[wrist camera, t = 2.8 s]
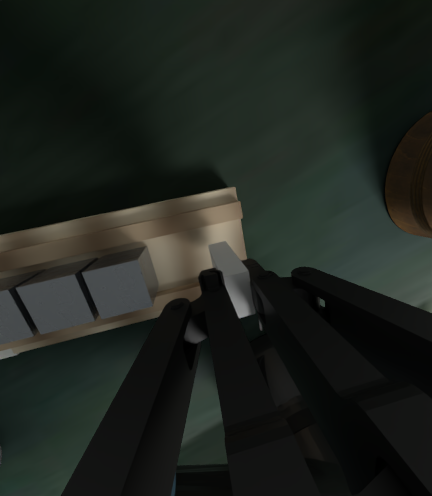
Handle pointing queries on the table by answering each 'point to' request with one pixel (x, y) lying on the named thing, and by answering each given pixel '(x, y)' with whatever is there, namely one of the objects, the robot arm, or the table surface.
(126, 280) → the gray cube
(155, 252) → the slot board
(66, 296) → the grey square block
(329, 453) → the robot arm
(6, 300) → the grey cubic block
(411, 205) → the wooden container
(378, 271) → the table surface
